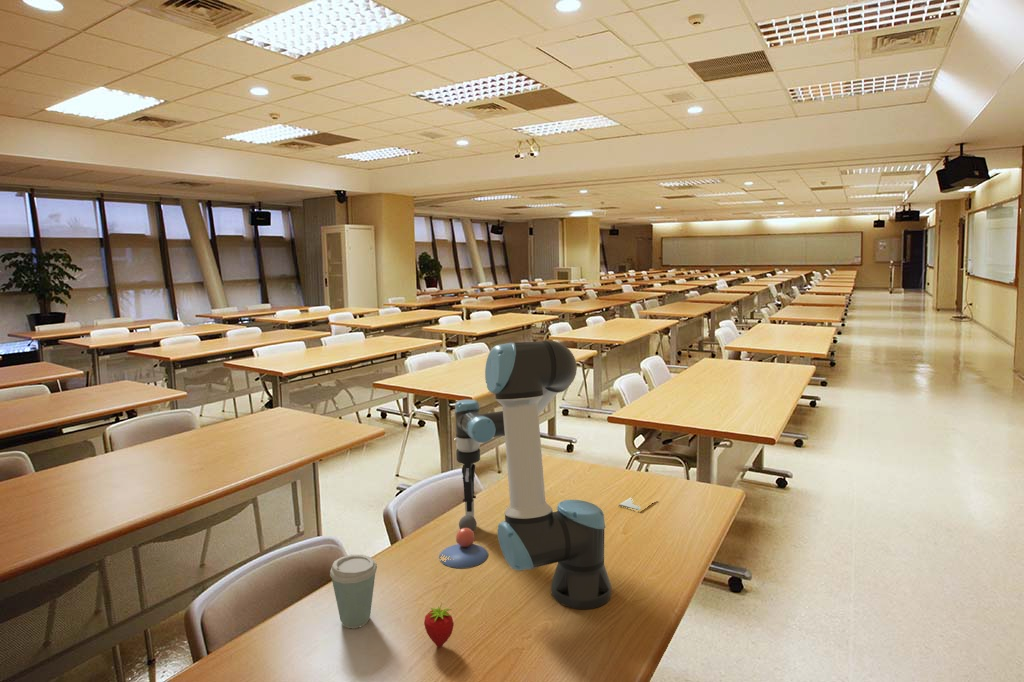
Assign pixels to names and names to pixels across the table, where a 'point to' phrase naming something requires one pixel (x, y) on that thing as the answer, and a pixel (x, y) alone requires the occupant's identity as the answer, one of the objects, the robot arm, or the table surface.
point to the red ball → (465, 537)
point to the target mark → (464, 556)
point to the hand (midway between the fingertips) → (470, 519)
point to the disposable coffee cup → (354, 588)
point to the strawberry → (439, 625)
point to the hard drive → (630, 504)
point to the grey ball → (468, 522)
